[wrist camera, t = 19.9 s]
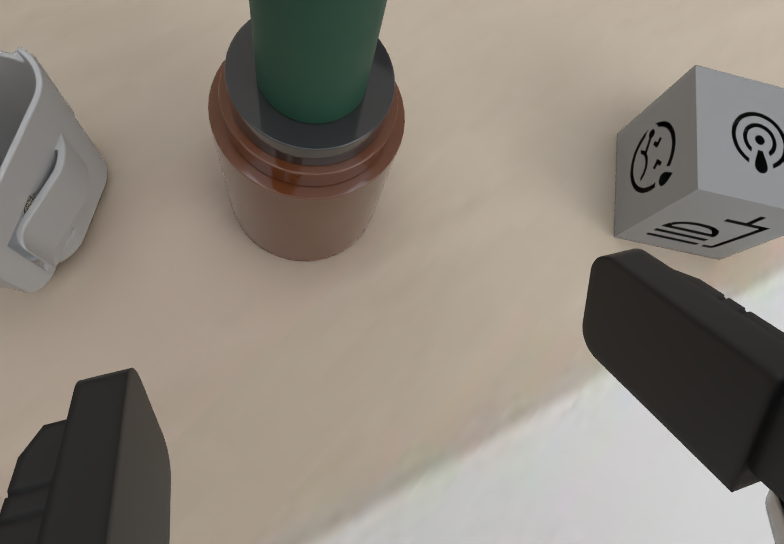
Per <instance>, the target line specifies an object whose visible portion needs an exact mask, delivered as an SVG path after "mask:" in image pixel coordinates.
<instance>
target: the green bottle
mask: <svg viewBox="0 0 784 544" xmlns="http://www.w3.org/2000/svg"><path fill="white" fill-rule="evenodd" d="M386 2H387V0H249V4H250V15H251V25H252V36H253V47H254V57H255V68H256V78H257V82H258V86H259V88H260V90H261V92H262V94H263V96H264V97H265V99H266V100H267V101H268V102H269V104H270V105H272V106H273V107H274V108H275V109H276V110H277V111H279V112H280V113H281V114H283V115H285V116H287V117H289V118H291V119H293V120H296V121H300V122H304V123H312V124H322V123H329V122H333V121H336V120H339V119H341V118H343V117H345V116H346V115H348V114H350V113H351V112H352V111H353V110H354V109H355V108H356V107H357V106H358V105H359V104H360V102H361V101H362V99H363V97H364V95H365V92H366V88H367V84H368V80H369V76H370V71H371V67H372V63H373V58H374V54H375V50H376V45H377V41H378V37H379V33H380V28H381V24H382V20H383V15H384V11H385V7H386Z"/></svg>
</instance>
